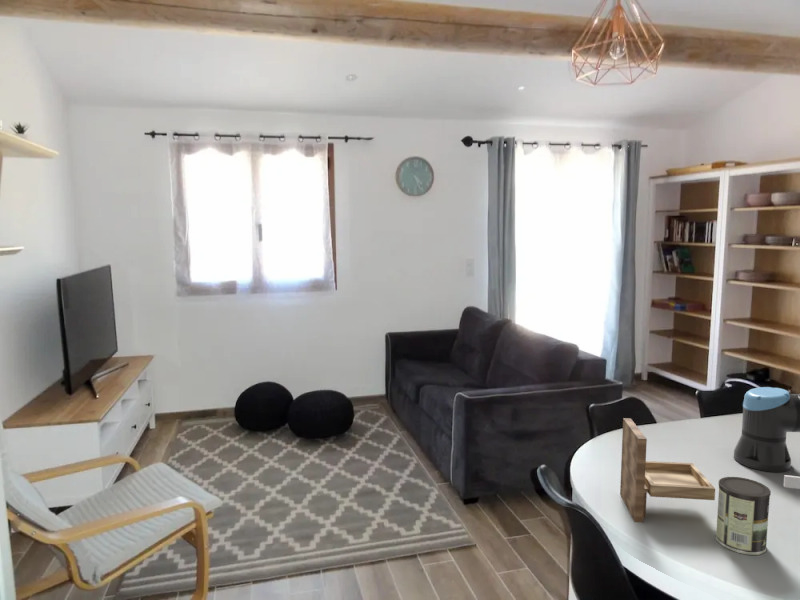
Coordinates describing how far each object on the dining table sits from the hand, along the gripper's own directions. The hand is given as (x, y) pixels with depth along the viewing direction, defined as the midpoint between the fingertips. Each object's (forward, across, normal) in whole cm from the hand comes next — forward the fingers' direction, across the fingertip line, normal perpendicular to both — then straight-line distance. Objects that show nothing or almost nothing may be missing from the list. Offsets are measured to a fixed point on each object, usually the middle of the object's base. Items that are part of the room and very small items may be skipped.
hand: (794, 493), depth 124 cm
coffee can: (+10, +1, -14) cm, 17 cm away
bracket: (+25, +12, -14) cm, 31 cm away
